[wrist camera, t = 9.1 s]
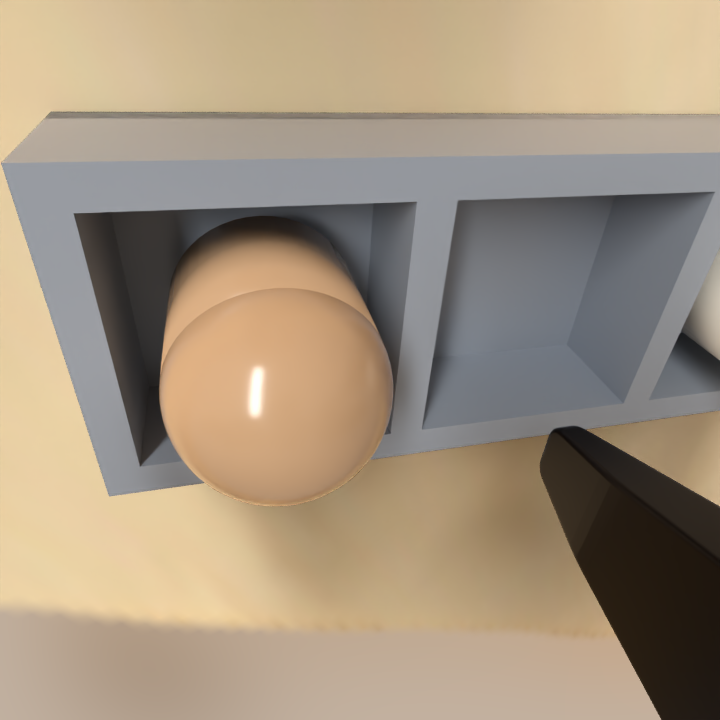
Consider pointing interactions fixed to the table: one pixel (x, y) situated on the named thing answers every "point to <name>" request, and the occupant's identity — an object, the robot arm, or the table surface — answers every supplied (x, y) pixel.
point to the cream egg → (706, 312)
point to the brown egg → (271, 364)
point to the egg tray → (392, 259)
